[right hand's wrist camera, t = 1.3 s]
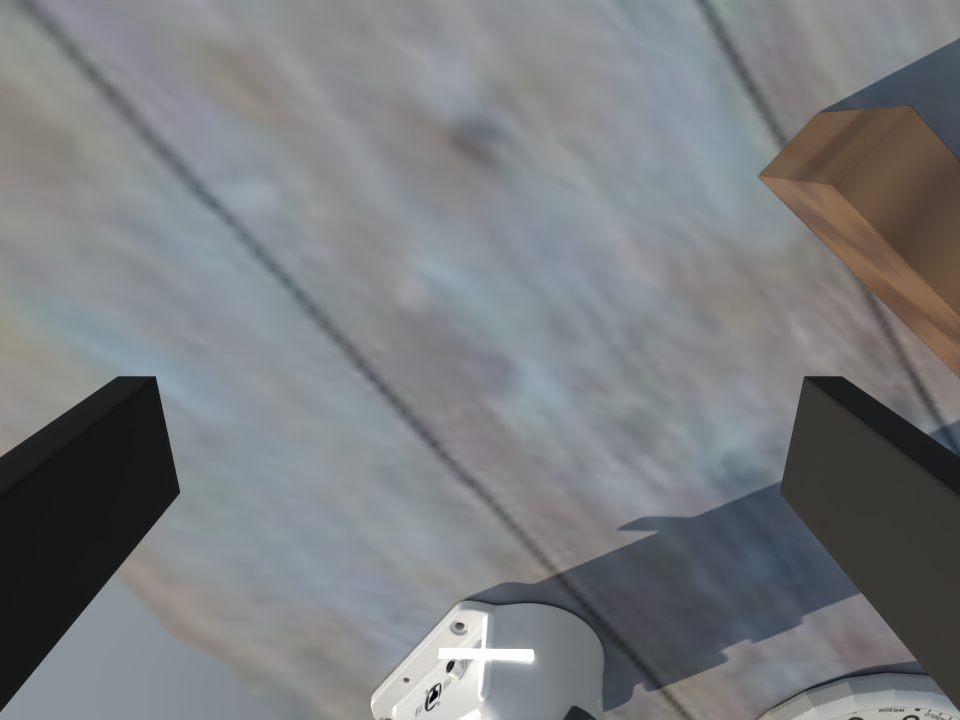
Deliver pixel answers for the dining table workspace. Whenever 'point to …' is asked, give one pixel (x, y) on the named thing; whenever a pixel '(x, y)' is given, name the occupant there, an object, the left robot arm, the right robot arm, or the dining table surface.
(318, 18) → the dining table surface
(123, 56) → the dining table surface
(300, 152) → the dining table surface
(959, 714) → the wall clock
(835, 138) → the bar
